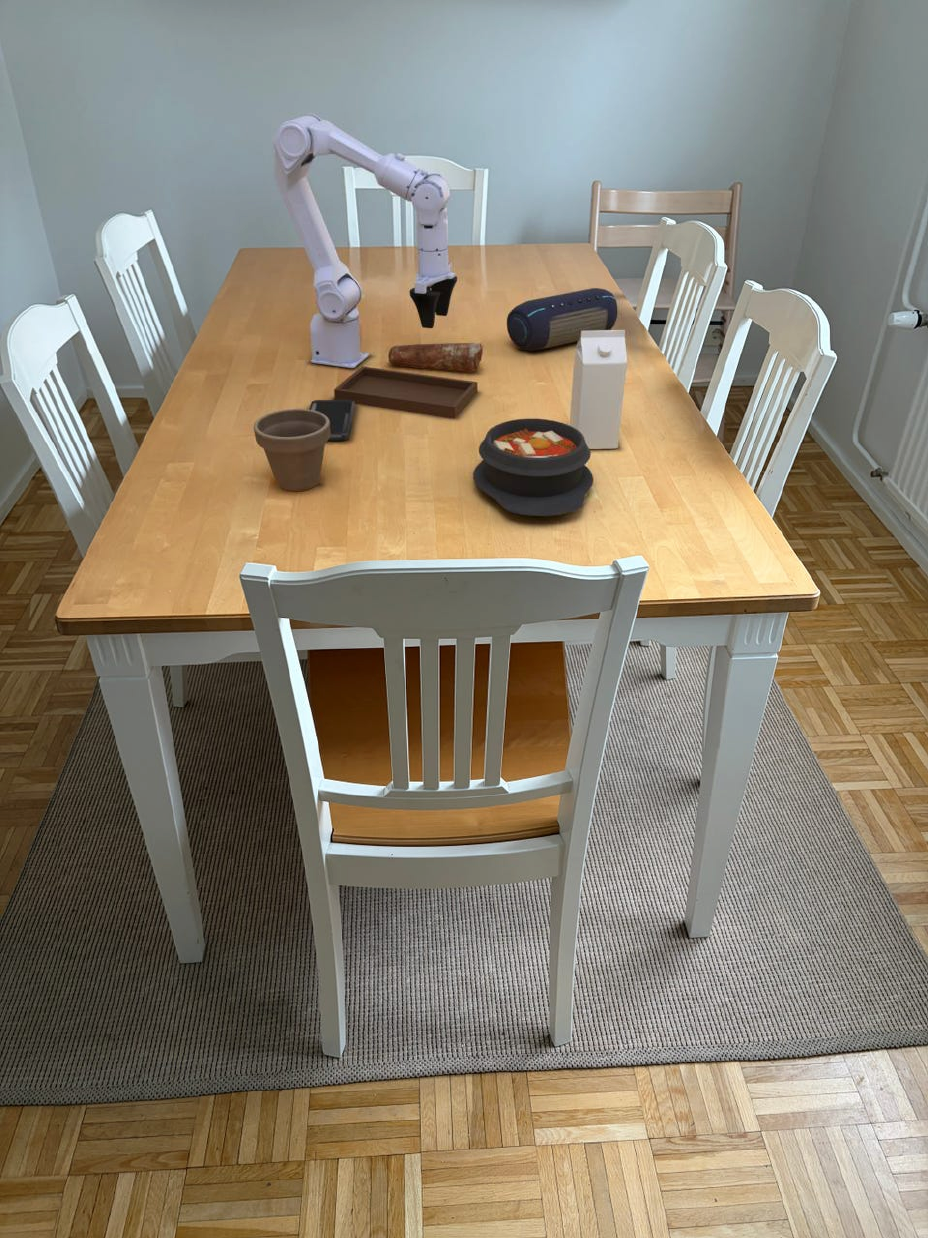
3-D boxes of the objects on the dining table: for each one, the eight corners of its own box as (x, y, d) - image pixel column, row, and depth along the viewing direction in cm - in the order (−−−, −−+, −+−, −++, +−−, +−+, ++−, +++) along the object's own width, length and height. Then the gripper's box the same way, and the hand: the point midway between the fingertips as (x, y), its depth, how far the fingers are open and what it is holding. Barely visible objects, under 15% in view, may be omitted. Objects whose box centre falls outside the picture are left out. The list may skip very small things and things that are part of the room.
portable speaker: (528, 360, 193) (531, 311, 187) (500, 346, 200) (502, 297, 194) (623, 338, 204) (628, 291, 198) (594, 325, 211) (598, 279, 205)
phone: (301, 434, 160) (312, 399, 172) (302, 440, 161) (312, 405, 173) (348, 434, 160) (355, 399, 172) (349, 440, 161) (356, 405, 173)
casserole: (608, 524, 139) (614, 472, 134) (482, 530, 137) (483, 477, 132) (575, 450, 159) (579, 403, 154) (465, 454, 157) (465, 406, 153)
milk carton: (568, 432, 165) (577, 323, 154) (608, 431, 165) (620, 322, 154) (575, 450, 159) (585, 338, 148) (617, 449, 160) (630, 337, 149)
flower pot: (264, 466, 153) (257, 407, 147) (335, 464, 154) (331, 406, 148) (257, 500, 144) (249, 439, 138) (332, 498, 144) (328, 437, 139)
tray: (334, 400, 176) (333, 389, 174) (362, 376, 185) (362, 365, 184) (454, 418, 169) (455, 407, 168) (477, 392, 179) (477, 382, 178)
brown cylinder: (479, 376, 185) (480, 348, 182) (385, 369, 189) (384, 341, 185) (485, 365, 191) (486, 338, 187) (393, 358, 194) (392, 330, 190)
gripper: (439, 259, 169) (441, 335, 177) (466, 239, 180) (466, 311, 188) (402, 256, 171) (405, 331, 179) (431, 237, 182) (433, 308, 190)
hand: (434, 321), depth 183 cm, fingers open, 7 cm apart
